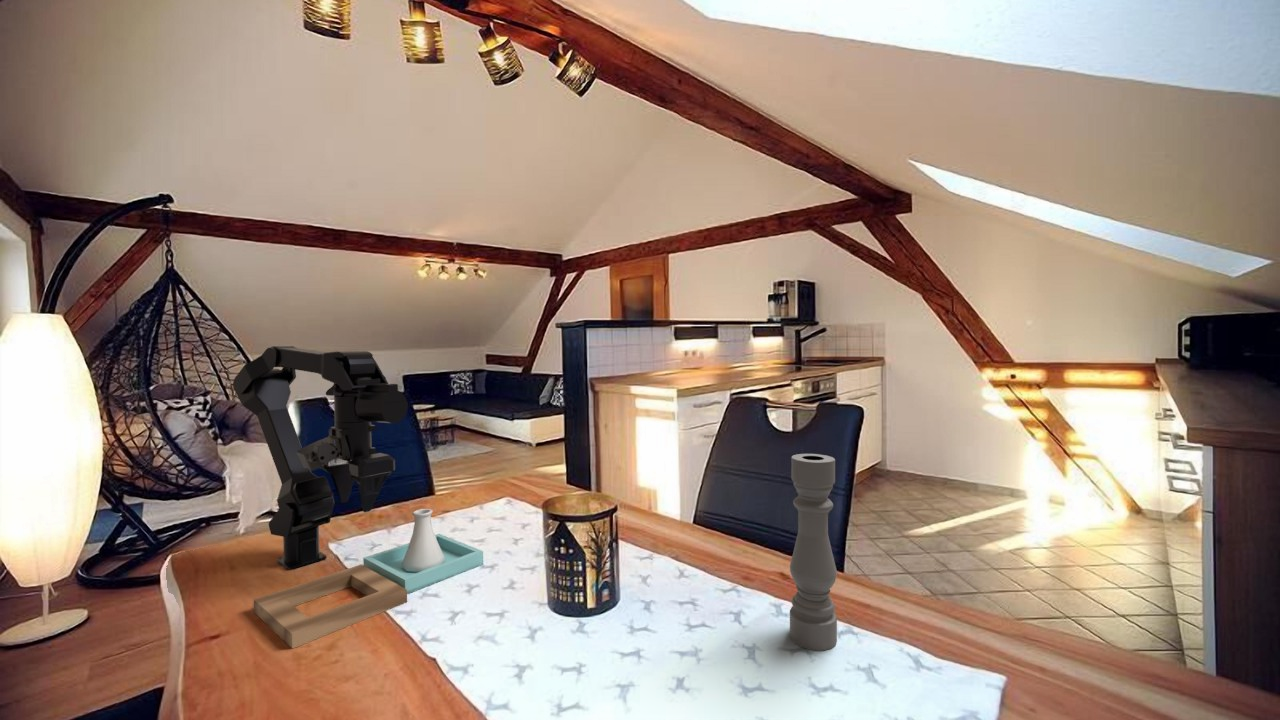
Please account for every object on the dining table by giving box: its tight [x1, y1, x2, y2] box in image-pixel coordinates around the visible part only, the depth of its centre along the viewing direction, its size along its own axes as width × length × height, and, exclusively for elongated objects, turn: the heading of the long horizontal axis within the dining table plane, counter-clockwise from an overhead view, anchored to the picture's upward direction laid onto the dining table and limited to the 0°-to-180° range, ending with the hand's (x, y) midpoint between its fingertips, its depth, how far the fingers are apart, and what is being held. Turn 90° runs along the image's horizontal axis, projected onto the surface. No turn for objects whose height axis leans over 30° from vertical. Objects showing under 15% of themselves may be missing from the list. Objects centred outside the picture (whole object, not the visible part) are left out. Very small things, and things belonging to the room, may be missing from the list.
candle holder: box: [789, 453, 838, 652], centre depth 71 cm, size 6×6×25 cm
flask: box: [401, 508, 446, 572], centre depth 95 cm, size 7×7×10 cm
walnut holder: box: [253, 564, 408, 649], centre depth 81 cm, size 16×16×2 cm
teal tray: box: [362, 533, 484, 595], centre depth 95 cm, size 15×15×2 cm
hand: (355, 506), depth 93 cm, fingers open, 9 cm apart
